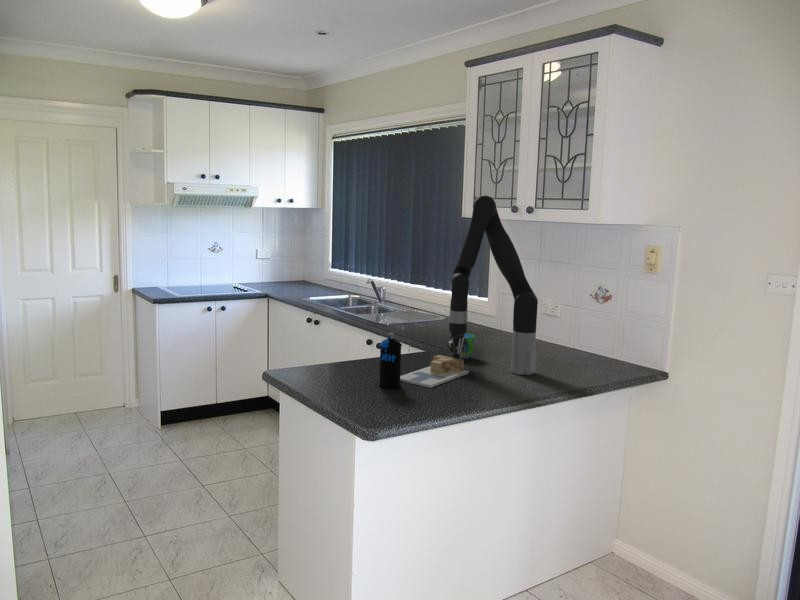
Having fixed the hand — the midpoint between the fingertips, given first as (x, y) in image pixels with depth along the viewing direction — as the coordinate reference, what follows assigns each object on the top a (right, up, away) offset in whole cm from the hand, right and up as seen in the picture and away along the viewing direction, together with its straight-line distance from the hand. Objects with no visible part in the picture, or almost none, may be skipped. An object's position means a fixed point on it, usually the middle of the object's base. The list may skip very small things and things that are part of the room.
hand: (456, 362), depth 275 cm
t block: (-6, -3, -9) cm, 11 cm away
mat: (-10, -4, -14) cm, 18 cm away
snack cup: (+4, 0, +20) cm, 20 cm away
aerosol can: (-27, -6, -29) cm, 40 cm away
